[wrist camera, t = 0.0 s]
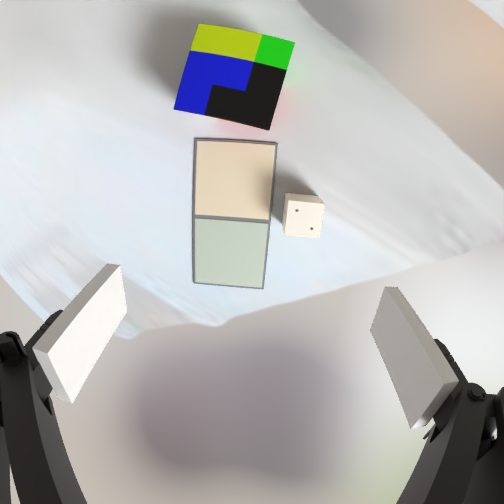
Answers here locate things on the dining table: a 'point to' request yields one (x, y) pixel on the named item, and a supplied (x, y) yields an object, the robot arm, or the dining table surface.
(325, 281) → the dining table surface
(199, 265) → the board
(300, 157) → the dining table surface
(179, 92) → the puzzle toy
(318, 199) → the die
